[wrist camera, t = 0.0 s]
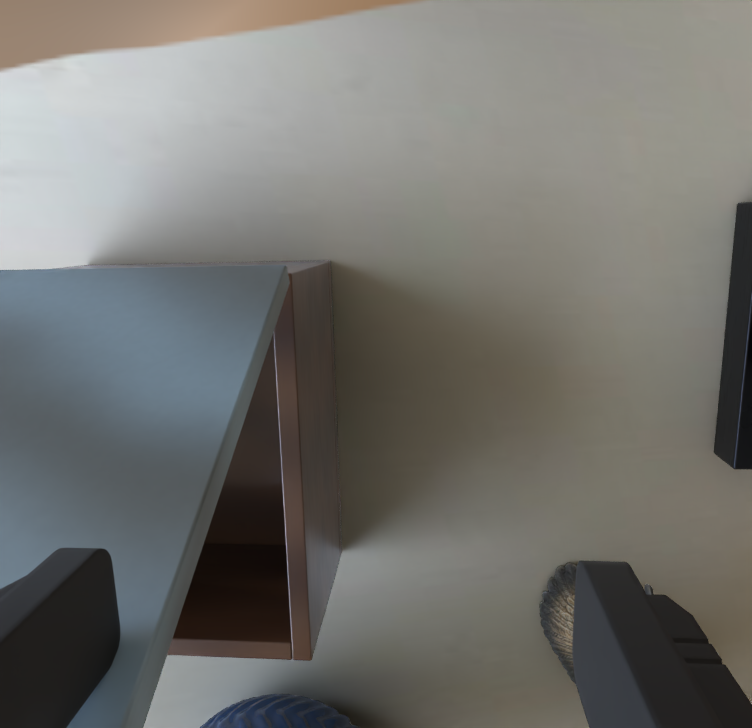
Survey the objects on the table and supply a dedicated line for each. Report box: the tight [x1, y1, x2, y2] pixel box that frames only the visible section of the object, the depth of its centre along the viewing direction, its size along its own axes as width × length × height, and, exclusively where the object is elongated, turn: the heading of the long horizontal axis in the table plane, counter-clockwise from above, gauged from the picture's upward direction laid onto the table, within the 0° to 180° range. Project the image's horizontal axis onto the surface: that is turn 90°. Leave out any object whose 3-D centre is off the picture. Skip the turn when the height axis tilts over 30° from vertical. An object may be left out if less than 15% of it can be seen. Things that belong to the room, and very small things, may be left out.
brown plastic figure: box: [540, 563, 653, 686], centre depth 31 cm, size 8×7×9 cm
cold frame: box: [56, 260, 342, 661], centre depth 29 cm, size 16×13×9 cm
